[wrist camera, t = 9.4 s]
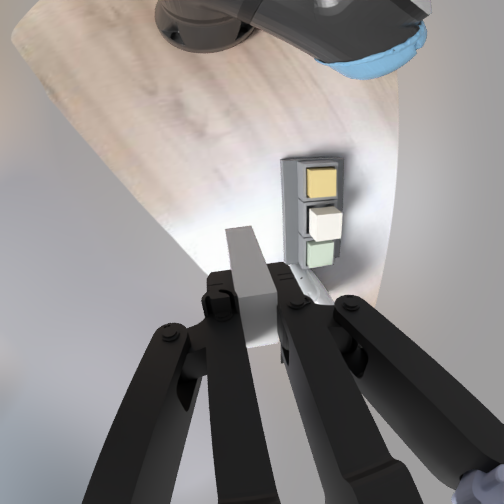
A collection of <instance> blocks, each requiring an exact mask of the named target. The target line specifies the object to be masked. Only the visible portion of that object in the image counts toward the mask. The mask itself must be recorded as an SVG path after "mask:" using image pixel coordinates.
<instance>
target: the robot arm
mask: <svg viewBox="0 0 504 504" xmlns="http://www.w3.org/2000/svg"><path fill="white" fill-rule="evenodd" d="M431 13H432V7H431V0H158V2H157V4H156V8H155V21H156V25H157V27H158V29H159V31H160V33H161V34H162V36H163V37H164V38H165V39H166V40H167V41H168V42H169V43H170V44H172V45H173V46H175V47H177V48H179V49H182V50H185V51H188V52H194V53H213V52H219V51H223V50H226V49H229V48H231V47H233V46H235V45H237V44H239V43H240V42H242V41H243V40H245V39H246V38H247V37H248V36H249V35H250V34H251V32H252V31H253V30H254V28H255V27H256V28H258V29H261V30H263V31H265V32H267V33H269V34H271V35H273V36H275V37H277V38H279V39H281V40H283V41H285V42H287V43H289V44H291V45H293V46H294V47H296V48H298V49H300V50H302V51H303V52H305V53H307V54H309V55H310V56H312V57H314V59H315V60H316V61H317V62H319V63H321V64H323V65H326V66H329V67H331V68H332V69H334V70H336V71H337V72H339V73H341V74H342V75H344V76H346V77H348V78H351V79H359V80H369V79H374V78H378V77H381V76H384V75H386V74H389V73H391V72H393V71H395V70H397V69H398V68H400V67H401V66H403V65H404V64H406V63H407V62H408V61H410V60H411V59H412V58H413V57H414V56H415V55H416V54H417V52H416V50H417V49H419V48H421V47H422V46H423V45H424V43H425V41H426V38H427V29H426V27H425V25H424V22H423V19H424V18H426V17H427V16H428V15H430V14H431ZM225 231H226V239H227V247H228V255H229V262H230V270H225V271H218V272H211V273H210V275H209V276H208V278H207V292H206V293H205V294H204V295H203V297H202V300H201V301H202V306H203V310H204V315H205V319H204V320H203V321H201V322H200V323H199V324H197V325H195V326H192V327H189V328H186V327H185V326H183V325H182V324H179V323H168V324H165V325H163V326H161V327H160V328H158V329H157V330H156V332H155V333H154V335H153V337H152V339H151V341H150V343H149V345H148V347H147V349H146V351H145V353H144V355H143V357H142V359H141V361H140V363H139V366H138V368H137V370H136V372H135V374H134V376H133V378H132V381H131V383H130V385H129V387H128V389H127V392H126V394H125V396H124V398H123V400H122V403H121V405H120V407H119V409H118V412H117V414H116V416H115V419H114V421H113V424H112V426H111V428H110V431H109V433H108V435H107V438H106V440H105V443H104V445H103V448H102V450H101V453H100V455H99V458H98V460H97V463H96V466H95V468H94V471H93V473H92V476H91V479H90V482H89V485H88V487H87V490H86V493H85V496H84V499H83V501H82V504H170V502H171V497H172V493H173V489H174V485H175V481H176V477H177V472H178V469H179V465H180V461H181V457H182V453H183V449H184V445H185V441H186V438H187V434H188V430H189V426H190V422H191V418H192V415H193V411H194V407H195V403H196V399H197V395H198V392H199V388H200V384H201V381H202V376H204V375H207V377H208V396H209V411H210V424H211V436H212V447H213V458H214V467H215V476H216V485H217V493H218V504H281V503H280V499H279V497H278V493H277V489H276V485H275V481H274V476H273V472H272V467H271V463H270V458H269V454H268V450H267V445H266V441H265V436H264V431H263V427H262V422H261V417H260V412H259V407H258V403H257V398H256V393H255V388H254V383H253V378H252V373H251V368H250V363H249V358H248V353H247V348H251V347H257V346H263V345H269V344H275V343H278V336H279V339H280V342H281V363H284V364H285V367H286V370H287V374H288V377H289V380H290V383H291V386H292V390H293V393H294V396H295V399H296V402H297V406H298V409H299V412H300V415H301V419H302V422H303V425H304V429H305V432H306V435H307V438H308V442H309V445H310V448H311V451H312V454H313V458H314V461H315V464H316V467H317V471H318V473H319V477H320V480H321V483H322V487H323V489H324V493H325V504H423V501H422V499H421V497H420V494H419V492H418V490H417V487H416V485H415V483H414V481H413V479H412V476H411V474H410V472H409V470H408V469H407V467H406V465H405V464H404V463H402V462H401V461H399V460H396V459H394V458H393V457H392V456H391V455H390V453H389V451H388V449H387V447H386V444H385V442H384V440H383V438H382V436H381V434H380V432H379V429H378V427H377V425H376V423H375V421H374V419H373V417H372V415H371V413H370V411H369V409H368V406H367V405H366V402H365V401H364V398H363V396H364V397H365V398H366V399H367V400H368V401H369V402H370V404H371V405H372V406H373V407H374V408H375V409H376V410H377V412H378V413H379V414H380V415H381V416H382V417H383V419H384V420H385V421H386V422H387V423H388V424H389V425H390V426H391V428H392V429H393V430H394V431H395V432H396V433H397V434H398V436H399V437H400V438H401V439H402V440H403V441H404V442H405V444H406V445H407V446H408V447H409V448H410V449H411V450H412V452H413V453H414V454H415V455H416V456H417V457H418V458H419V459H420V461H421V462H422V463H423V464H424V465H425V466H426V467H427V468H428V470H429V471H430V472H431V473H432V474H433V475H434V476H435V477H436V478H437V479H438V480H440V481H441V482H442V483H444V484H445V485H446V486H448V487H450V488H452V489H454V490H456V491H455V493H454V494H453V496H452V503H453V504H504V424H502V423H501V422H500V421H499V420H498V419H497V418H496V417H495V416H494V415H493V414H492V413H491V412H490V411H489V410H488V409H487V408H486V407H485V406H484V405H483V404H482V403H481V402H480V401H479V400H478V399H476V397H474V396H473V395H472V394H471V393H470V392H469V391H468V390H467V389H466V388H465V387H464V386H463V385H462V384H461V383H459V382H458V381H457V380H456V379H455V378H454V377H453V376H452V375H450V374H449V373H448V372H447V371H446V370H445V369H444V368H443V367H442V366H441V365H440V364H438V363H437V362H436V361H435V360H434V359H433V358H432V357H431V356H429V355H428V354H427V353H426V352H425V351H423V350H422V349H421V348H420V347H419V346H418V345H417V344H416V343H415V342H413V341H412V340H411V339H410V338H409V337H408V336H406V335H405V334H404V333H403V332H402V331H401V330H399V329H398V328H397V327H396V326H395V325H394V324H392V323H391V322H390V321H389V320H388V319H386V318H385V317H384V316H383V315H382V314H380V313H379V312H378V311H377V310H376V309H374V308H373V307H372V306H371V305H370V304H368V303H367V302H366V301H365V300H364V299H362V298H360V297H358V296H354V295H344V296H341V297H339V298H337V299H336V301H335V303H334V305H321V304H316V303H314V301H313V300H312V299H311V298H310V297H309V296H307V295H304V293H303V291H302V290H301V288H300V286H299V284H298V282H297V280H296V278H295V276H294V274H293V272H292V270H291V268H290V267H289V266H288V265H287V264H285V263H284V262H277V263H270V264H266V262H265V259H264V257H263V254H262V252H261V249H260V247H259V244H258V241H257V239H256V236H255V234H254V231H253V229H252V226H245V227H237V228H229V229H225ZM361 393H362V394H363V396H362V394H361Z"/></svg>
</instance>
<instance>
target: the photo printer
mask: <svg viewBox="0 0 504 504" xmlns="http://www.w3.org/2000/svg"><path fill="white" fill-rule="evenodd" d="M290 268H291V270H292V272H293V274H294V276H295V278H296V280H297V282H298V284H299V286H300V288H301V290H302V291H303V293H304V295H307V296H309V297H310V298H311V299H312V300H313V301H314V303H316V304H321V305H334V301H333V300H332V298H331V297H330V295H329V293H328V292H327V290H326V288H325V287H324V286H323V284H322V283H321V281H320V280H319V279H318V278H317V276H316V275H315V274H314V273H313V271H312V270H311V269H302V267H301V266H300V264H299V263H297V264H292V265H291V266H290Z"/></svg>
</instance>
